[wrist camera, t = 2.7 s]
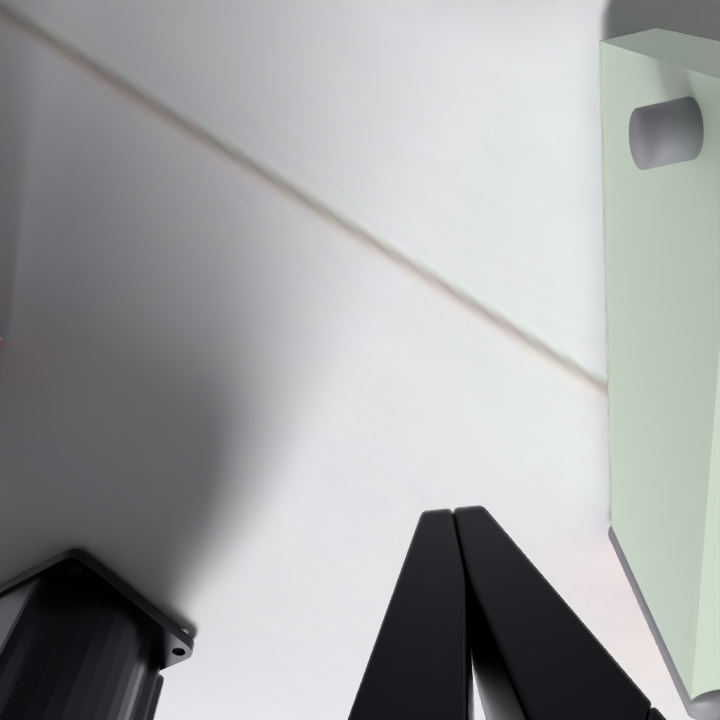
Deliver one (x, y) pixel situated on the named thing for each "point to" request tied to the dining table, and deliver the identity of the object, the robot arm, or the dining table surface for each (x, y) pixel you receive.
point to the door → (665, 341)
